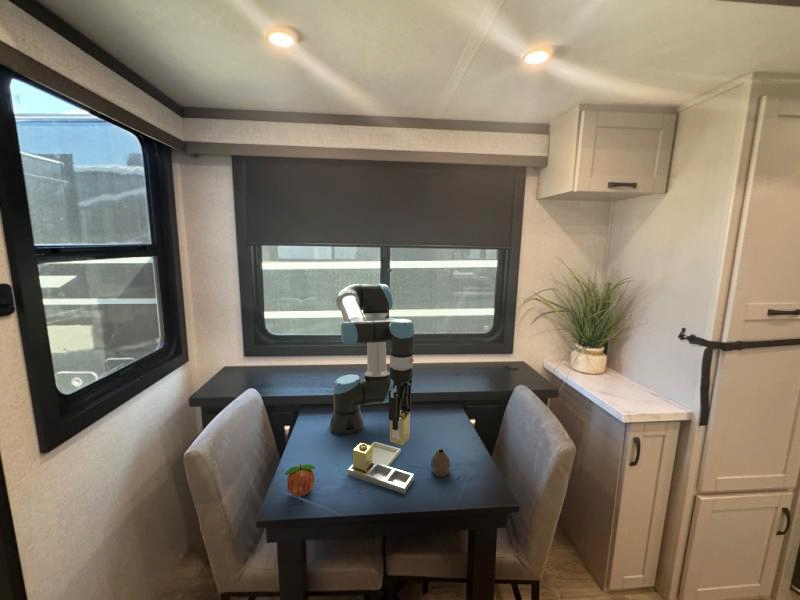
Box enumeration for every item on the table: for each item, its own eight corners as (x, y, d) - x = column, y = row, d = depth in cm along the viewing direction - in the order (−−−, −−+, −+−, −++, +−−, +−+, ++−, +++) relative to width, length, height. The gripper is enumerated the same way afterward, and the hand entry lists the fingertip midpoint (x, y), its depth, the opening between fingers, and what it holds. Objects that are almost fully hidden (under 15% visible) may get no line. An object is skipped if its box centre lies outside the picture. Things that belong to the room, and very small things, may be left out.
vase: (444, 482, 119) (445, 459, 118) (427, 475, 123) (428, 452, 121) (452, 471, 125) (453, 449, 124) (435, 465, 128) (436, 443, 127)
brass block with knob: (353, 473, 122) (353, 448, 121) (360, 465, 127) (360, 441, 125) (365, 477, 120) (365, 451, 119) (372, 469, 125) (372, 444, 123)
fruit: (315, 500, 109) (314, 471, 108) (284, 504, 107) (283, 474, 106) (316, 482, 118) (315, 455, 116) (287, 485, 116) (286, 458, 114)
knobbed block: (389, 441, 114) (390, 414, 113) (396, 434, 119) (396, 408, 117) (403, 445, 112) (404, 417, 111) (409, 438, 116) (410, 411, 115)
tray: (358, 461, 130) (358, 456, 130) (374, 445, 141) (374, 441, 140) (387, 470, 125) (387, 465, 125) (400, 453, 136) (400, 448, 135)
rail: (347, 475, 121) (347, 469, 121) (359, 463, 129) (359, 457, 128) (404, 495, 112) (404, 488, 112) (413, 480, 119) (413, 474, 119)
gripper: (399, 377, 102) (398, 450, 105) (422, 360, 118) (420, 424, 121) (377, 373, 105) (376, 444, 108) (402, 357, 121) (401, 419, 125)
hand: (399, 433), depth 115 cm, fingers closed on knobbed block, 5 cm apart
